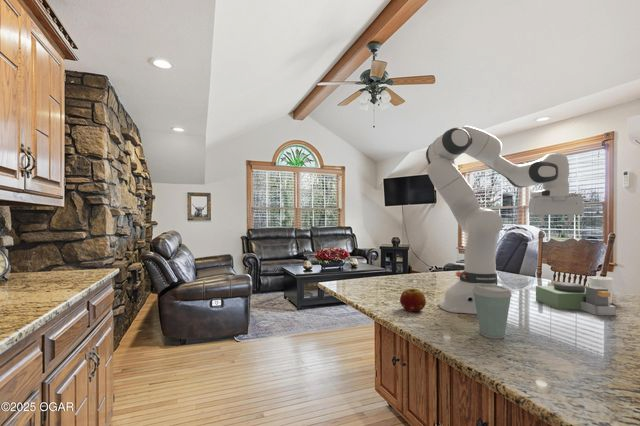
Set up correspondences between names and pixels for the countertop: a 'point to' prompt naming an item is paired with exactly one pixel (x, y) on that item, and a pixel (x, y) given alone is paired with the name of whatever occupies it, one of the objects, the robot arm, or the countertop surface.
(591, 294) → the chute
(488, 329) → the disposable coffee cup
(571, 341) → the countertop surface
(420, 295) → the fruit
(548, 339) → the countertop surface
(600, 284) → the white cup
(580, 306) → the green and grey base
